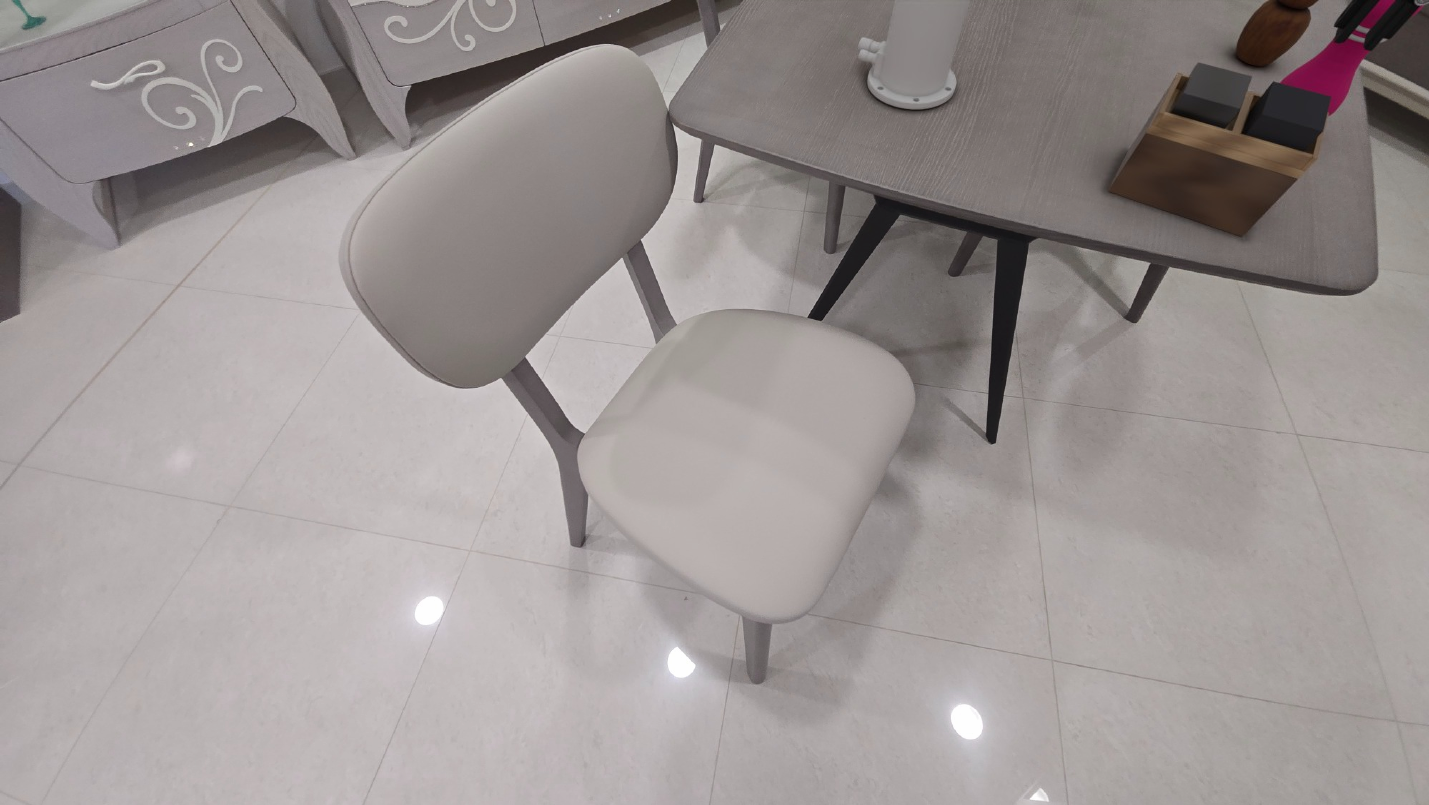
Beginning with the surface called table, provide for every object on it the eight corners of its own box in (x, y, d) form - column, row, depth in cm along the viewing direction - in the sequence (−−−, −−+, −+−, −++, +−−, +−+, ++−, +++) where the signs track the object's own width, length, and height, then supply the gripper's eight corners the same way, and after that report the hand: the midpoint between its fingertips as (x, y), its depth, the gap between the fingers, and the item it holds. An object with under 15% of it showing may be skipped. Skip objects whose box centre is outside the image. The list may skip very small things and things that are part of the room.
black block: (1237, 144, 64) (1262, 114, 61) (1249, 111, 67) (1273, 80, 64) (1295, 161, 62) (1323, 131, 59) (1304, 126, 65) (1331, 96, 62)
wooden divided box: (1107, 191, 74) (1170, 94, 63) (1127, 151, 77) (1189, 54, 67) (1242, 237, 69) (1335, 140, 58) (1256, 192, 73) (1345, 94, 62)
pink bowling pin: (1257, 106, 82) (1395, -68, 65) (1316, 124, 79) (1476, -51, 62) (1242, 131, 79) (1382, -43, 62) (1303, 152, 76) (1466, -24, 59)
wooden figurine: (1218, 52, 89) (1299, -67, 76) (1247, 43, 90) (1332, -76, 77) (1255, 75, 85) (1346, -46, 73) (1285, 66, 86) (1381, -55, 74)
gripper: (1744, -243, 39) (1456, 44, 55) (1455, -268, 44) (1266, 2, 60) (1765, -211, 36) (1453, 84, 52) (1452, -242, 41) (1253, 36, 57)
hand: (1354, 38), depth 56 cm, fingers closed
